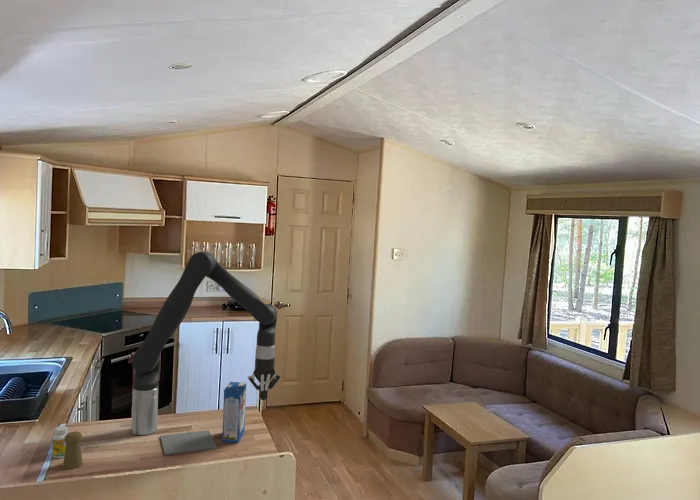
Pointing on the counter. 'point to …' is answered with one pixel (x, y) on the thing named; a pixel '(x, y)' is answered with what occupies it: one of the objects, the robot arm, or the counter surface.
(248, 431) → the counter surface
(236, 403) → the milk carton
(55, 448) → the supplement bottle
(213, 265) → the robot arm
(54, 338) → the counter surface
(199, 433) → the mat
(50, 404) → the counter surface
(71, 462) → the cork
